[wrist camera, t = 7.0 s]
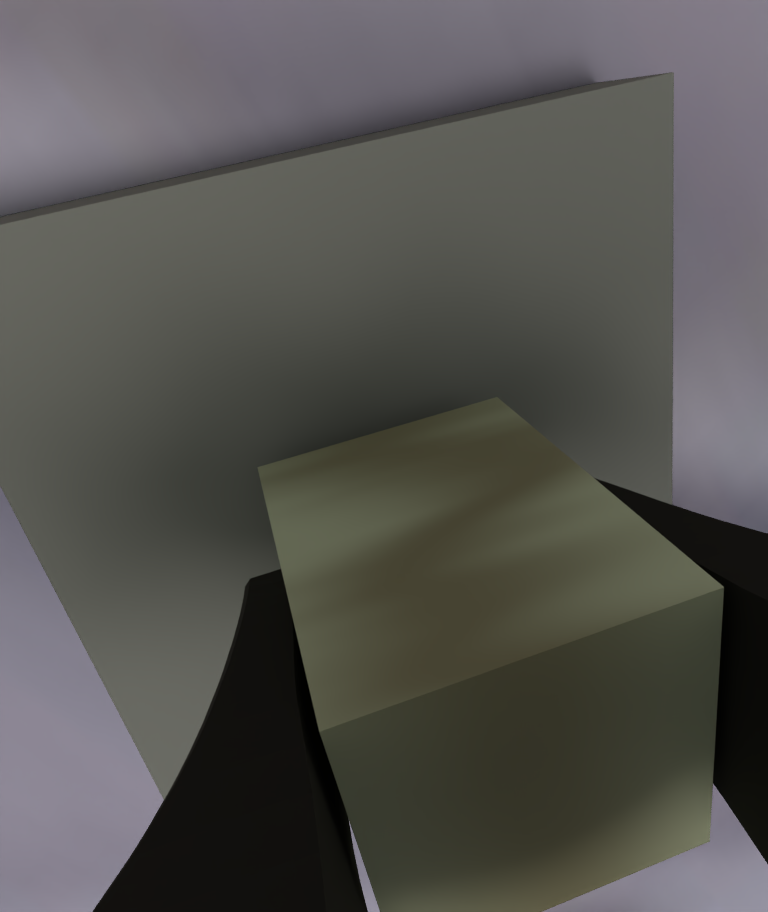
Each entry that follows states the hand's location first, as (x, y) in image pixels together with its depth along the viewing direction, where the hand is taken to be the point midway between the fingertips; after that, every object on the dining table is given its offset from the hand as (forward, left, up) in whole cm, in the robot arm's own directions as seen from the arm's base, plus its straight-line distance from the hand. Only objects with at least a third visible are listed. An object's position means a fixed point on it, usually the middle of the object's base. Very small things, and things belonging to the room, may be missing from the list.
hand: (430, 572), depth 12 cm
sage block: (0, 0, -2) cm, 2 cm away
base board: (0, 0, -5) cm, 5 cm away
